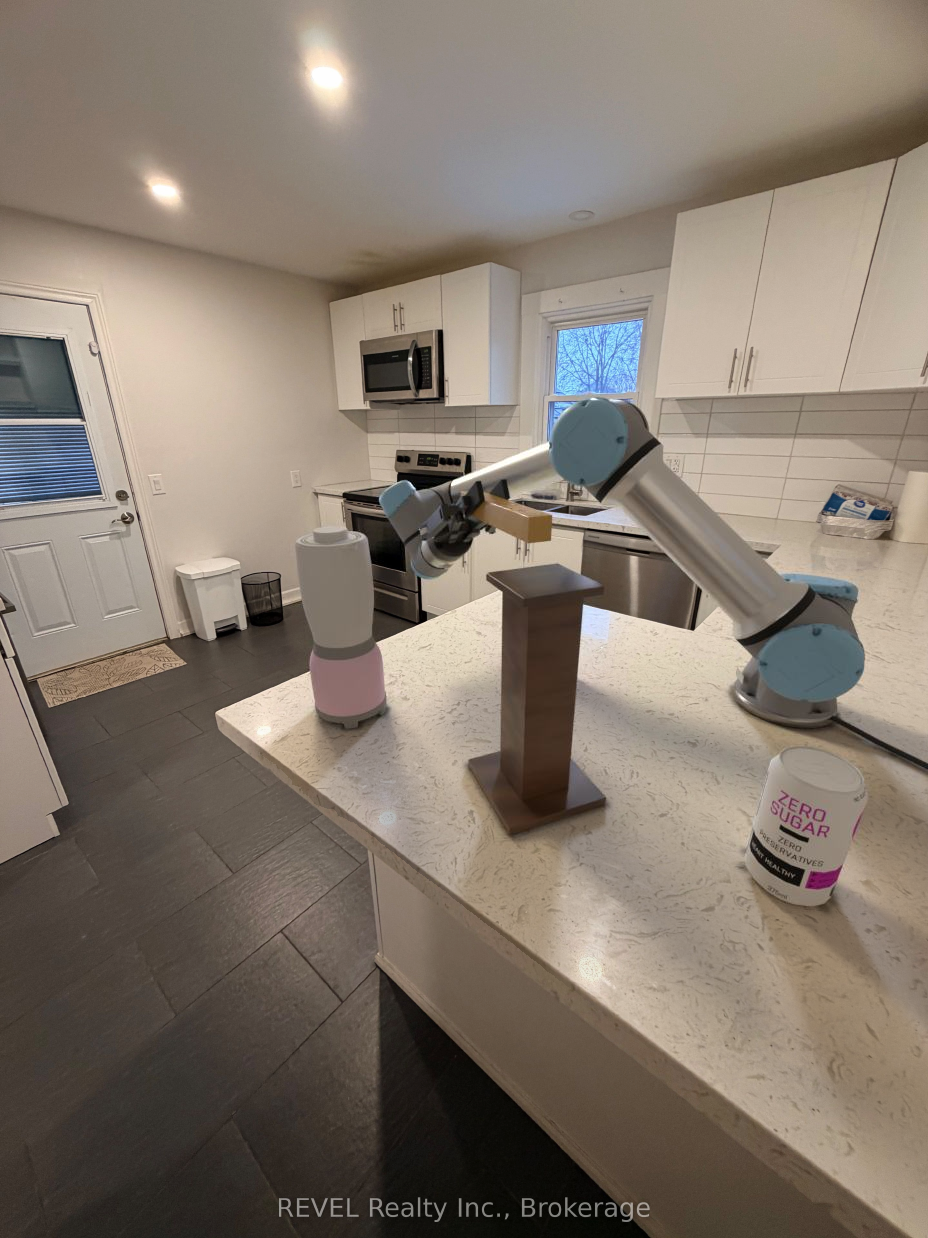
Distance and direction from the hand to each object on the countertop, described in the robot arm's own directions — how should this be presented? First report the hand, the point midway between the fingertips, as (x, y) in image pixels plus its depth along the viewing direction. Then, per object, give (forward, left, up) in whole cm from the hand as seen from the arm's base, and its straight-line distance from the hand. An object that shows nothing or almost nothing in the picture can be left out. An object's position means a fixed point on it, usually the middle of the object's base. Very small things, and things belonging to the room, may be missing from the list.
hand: (493, 489), depth 67 cm
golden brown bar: (-2, +1, -4) cm, 5 cm away
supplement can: (-42, +6, -39) cm, 57 cm away
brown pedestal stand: (-12, +8, -38) cm, 41 cm away
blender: (+25, +8, -39) cm, 47 cm away
